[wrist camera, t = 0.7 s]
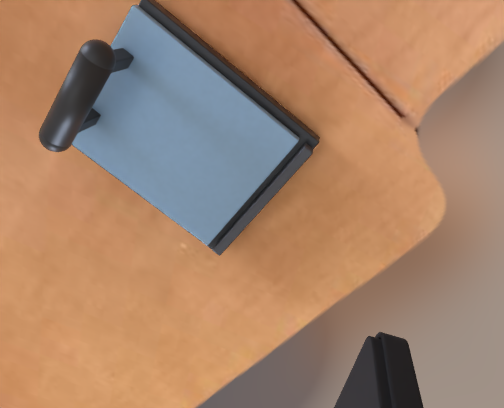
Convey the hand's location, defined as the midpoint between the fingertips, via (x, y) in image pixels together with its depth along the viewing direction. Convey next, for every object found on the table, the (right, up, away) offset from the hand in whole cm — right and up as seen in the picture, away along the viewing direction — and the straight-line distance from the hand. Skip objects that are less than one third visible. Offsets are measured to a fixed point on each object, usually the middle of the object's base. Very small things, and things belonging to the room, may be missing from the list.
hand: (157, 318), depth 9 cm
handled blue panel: (-2, +7, +15) cm, 16 cm away
